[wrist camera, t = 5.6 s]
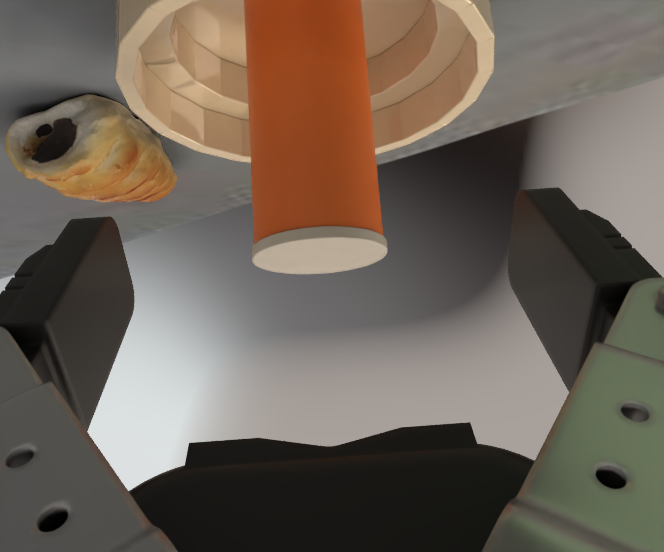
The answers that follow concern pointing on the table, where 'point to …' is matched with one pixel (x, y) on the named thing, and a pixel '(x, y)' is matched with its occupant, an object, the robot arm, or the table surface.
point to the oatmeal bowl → (231, 68)
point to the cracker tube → (311, 137)
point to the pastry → (91, 152)
